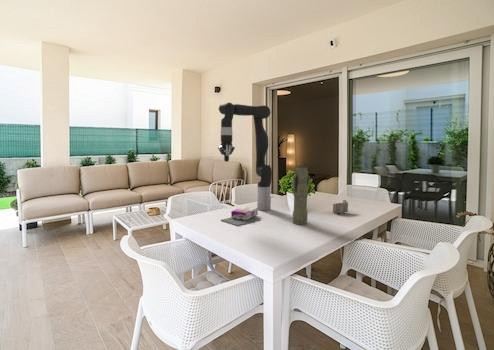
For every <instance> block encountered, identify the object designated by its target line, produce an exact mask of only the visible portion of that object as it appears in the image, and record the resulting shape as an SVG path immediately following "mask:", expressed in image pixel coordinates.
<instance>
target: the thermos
mask: <svg viewBox="0 0 494 350" xmlns="http://www.w3.org/2000/svg"><path fill="white" fill-rule="evenodd" d="M309 188H310V175H309V174H308V168H307V167H306V166H296V168H295V170H294V175H293V177H292V194H293V211H292V224H293V225H297V226H306V225H308V211H307V210H308V196H309V190H310V189H309ZM305 224H306V225H305Z"/></svg>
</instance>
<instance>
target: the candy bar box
mask: <svg viewBox="0 0 494 350" xmlns="http://www.w3.org/2000/svg"><path fill="white" fill-rule="evenodd" d="M258 211H259V210H258V208H257V207H252V206H241V207H239V208H236V209H234V210H232V211H231V212H230V213H231V215H230V216H231V217H230V218H234V219H240V220H248V219H250V218H252V217H257V216H258V215H259V214H258V213H259V212H258Z"/></svg>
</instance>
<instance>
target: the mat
mask: <svg viewBox="0 0 494 350" xmlns="http://www.w3.org/2000/svg"><path fill="white" fill-rule="evenodd" d="M258 221H262V219H261V218H258V217H256V216H254V217H252V218H250V219H248V220H240V219H234V218H231V217H227V218H223V219H220V222H223V223H227V224H229V225H233V226H236V227H239V226H243V225H247V224H251V223H255V222H258Z"/></svg>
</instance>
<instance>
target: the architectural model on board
mask: <svg viewBox="0 0 494 350" xmlns="http://www.w3.org/2000/svg"><path fill="white" fill-rule="evenodd" d="M348 211H349V203H348V201H347V200H346V199H342V202H336V203H333V204H332V214H333V213H334V214H333V215H335V214H337V215H339V214H338V213H345V212H348ZM345 214H346V213H345Z"/></svg>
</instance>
